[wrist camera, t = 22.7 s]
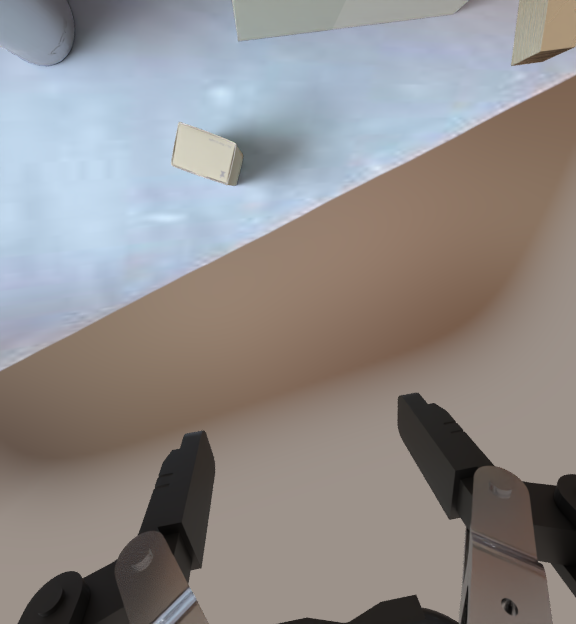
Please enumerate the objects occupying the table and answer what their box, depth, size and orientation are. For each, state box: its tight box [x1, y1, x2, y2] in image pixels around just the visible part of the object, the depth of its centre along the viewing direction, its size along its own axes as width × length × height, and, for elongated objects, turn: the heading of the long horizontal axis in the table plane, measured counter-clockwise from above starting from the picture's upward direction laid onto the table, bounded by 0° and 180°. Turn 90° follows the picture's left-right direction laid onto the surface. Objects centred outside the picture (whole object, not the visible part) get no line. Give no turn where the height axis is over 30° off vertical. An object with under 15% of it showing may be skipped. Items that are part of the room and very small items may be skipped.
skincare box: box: [171, 122, 243, 186], centre depth 36 cm, size 6×4×12 cm
